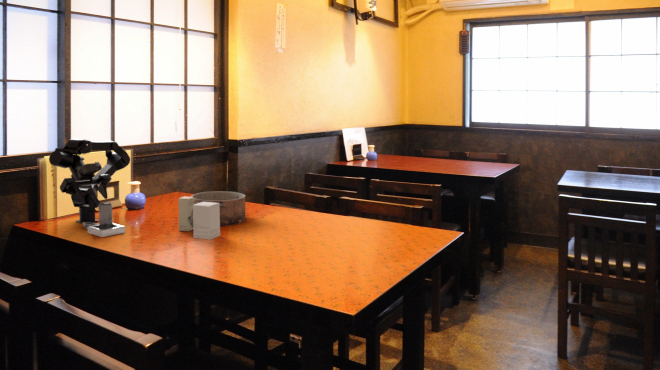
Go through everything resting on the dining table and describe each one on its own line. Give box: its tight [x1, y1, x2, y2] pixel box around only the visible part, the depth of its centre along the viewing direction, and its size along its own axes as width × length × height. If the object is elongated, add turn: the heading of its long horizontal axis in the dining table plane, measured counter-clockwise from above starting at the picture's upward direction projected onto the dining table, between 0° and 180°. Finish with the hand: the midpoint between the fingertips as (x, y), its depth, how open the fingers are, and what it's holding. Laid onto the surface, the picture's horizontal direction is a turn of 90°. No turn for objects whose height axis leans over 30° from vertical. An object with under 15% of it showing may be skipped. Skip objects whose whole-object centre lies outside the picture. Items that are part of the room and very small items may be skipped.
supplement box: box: [192, 202, 221, 241], centre depth 199 cm, size 7×7×13 cm
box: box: [177, 195, 194, 232], centre depth 209 cm, size 5×4×13 cm
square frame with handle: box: [82, 221, 126, 238], centre depth 204 cm, size 20×9×2 cm, turn 54°
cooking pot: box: [190, 190, 246, 227], centre depth 226 cm, size 30×22×11 cm
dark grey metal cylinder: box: [98, 201, 114, 229], centre depth 201 cm, size 5×5×12 cm
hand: (95, 200), depth 204 cm, fingers open, 9 cm apart
